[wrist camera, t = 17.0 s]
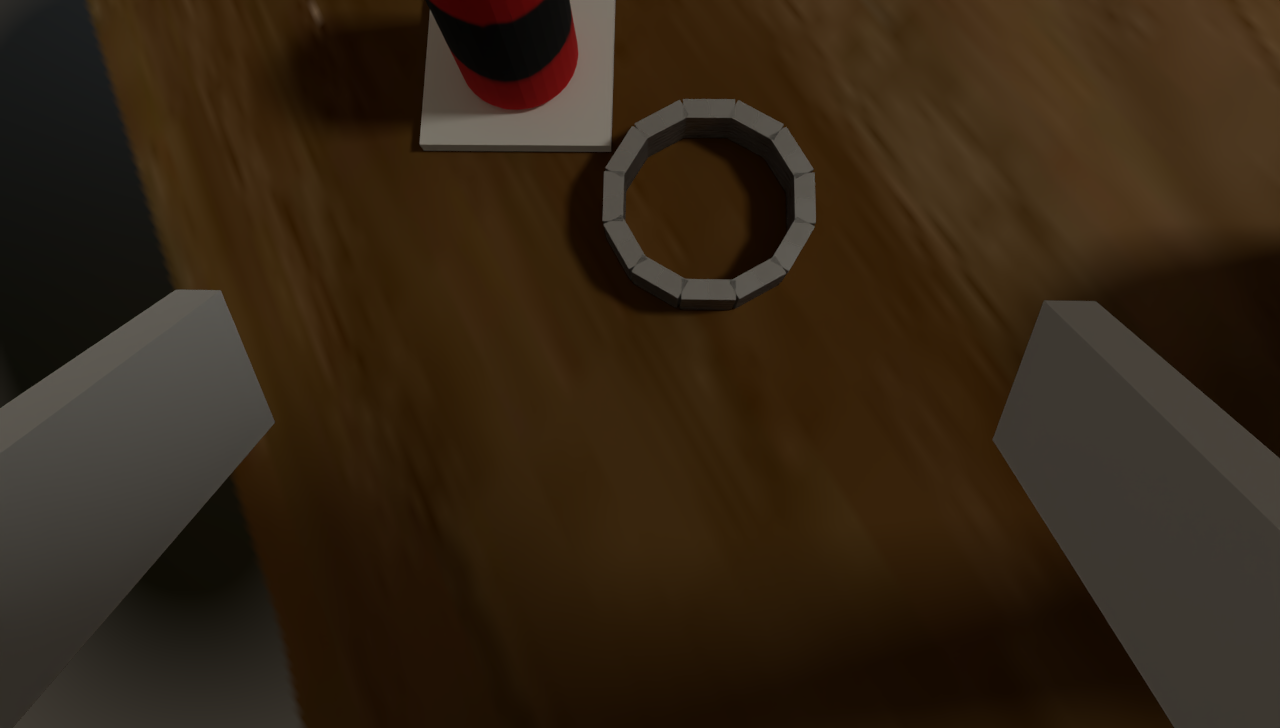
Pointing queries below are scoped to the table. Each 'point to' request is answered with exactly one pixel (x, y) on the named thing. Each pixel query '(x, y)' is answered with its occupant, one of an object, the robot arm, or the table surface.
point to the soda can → (510, 47)
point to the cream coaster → (551, 127)
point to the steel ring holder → (709, 123)
